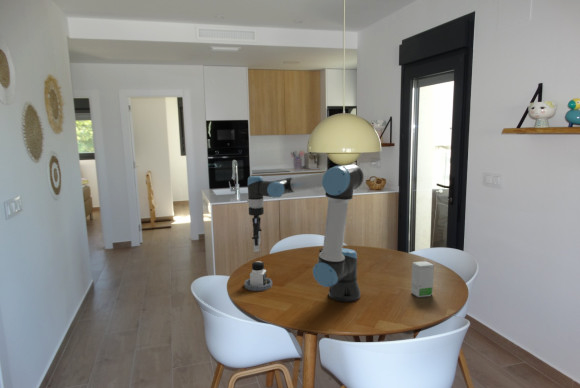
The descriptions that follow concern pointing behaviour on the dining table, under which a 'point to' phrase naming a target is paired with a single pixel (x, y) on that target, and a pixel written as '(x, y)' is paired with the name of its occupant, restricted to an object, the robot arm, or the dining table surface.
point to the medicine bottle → (258, 274)
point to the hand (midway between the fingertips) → (257, 247)
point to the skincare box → (422, 279)
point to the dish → (258, 288)
